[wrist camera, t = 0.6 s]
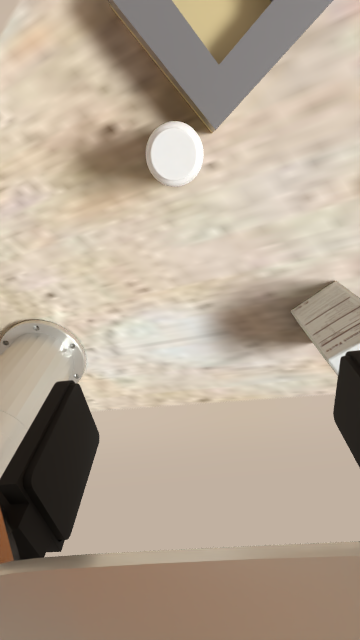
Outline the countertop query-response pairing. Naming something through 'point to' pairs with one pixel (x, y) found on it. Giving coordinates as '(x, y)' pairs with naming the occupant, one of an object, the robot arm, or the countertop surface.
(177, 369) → the countertop surface
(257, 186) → the countertop surface
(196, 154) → the supplement bottle
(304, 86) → the countertop surface
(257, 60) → the socket block
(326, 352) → the supplement box
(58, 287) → the countertop surface
